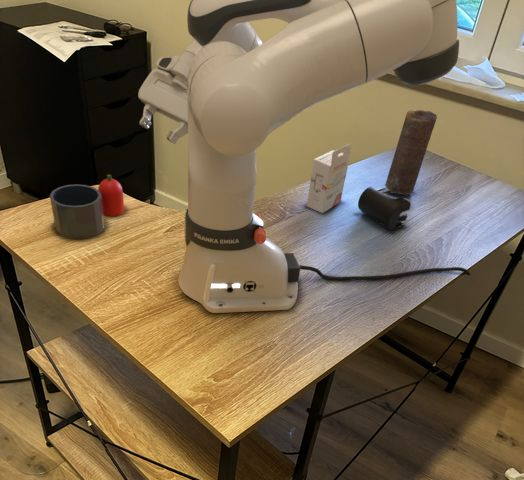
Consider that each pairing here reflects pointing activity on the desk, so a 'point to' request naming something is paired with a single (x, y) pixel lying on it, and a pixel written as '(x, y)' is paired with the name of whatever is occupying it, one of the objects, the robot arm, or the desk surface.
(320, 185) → the ink cartridge box
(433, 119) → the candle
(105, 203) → the pepper
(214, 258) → the robot arm
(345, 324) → the desk surface
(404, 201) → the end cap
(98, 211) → the pot
